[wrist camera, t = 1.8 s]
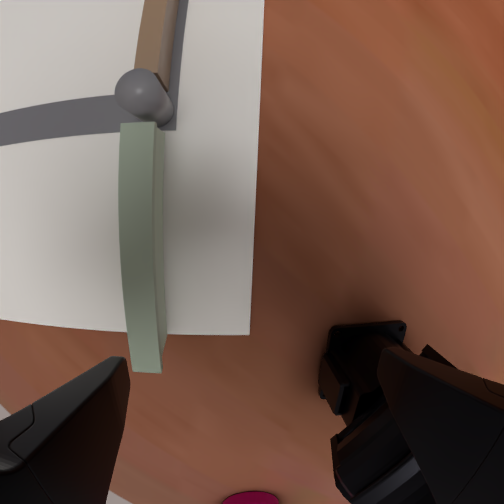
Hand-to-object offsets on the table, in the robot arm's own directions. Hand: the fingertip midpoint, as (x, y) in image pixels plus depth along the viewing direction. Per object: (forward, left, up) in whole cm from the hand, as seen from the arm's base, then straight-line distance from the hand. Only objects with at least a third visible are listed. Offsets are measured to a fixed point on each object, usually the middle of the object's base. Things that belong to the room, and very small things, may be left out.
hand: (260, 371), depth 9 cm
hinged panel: (+5, -1, -11) cm, 12 cm away
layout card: (+10, -8, -12) cm, 18 cm away
